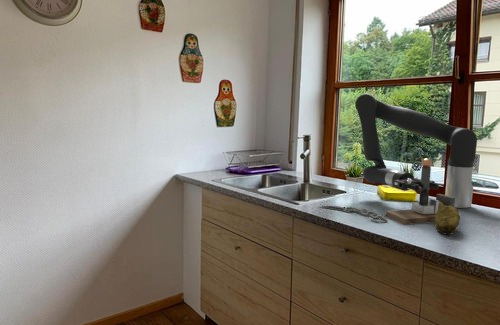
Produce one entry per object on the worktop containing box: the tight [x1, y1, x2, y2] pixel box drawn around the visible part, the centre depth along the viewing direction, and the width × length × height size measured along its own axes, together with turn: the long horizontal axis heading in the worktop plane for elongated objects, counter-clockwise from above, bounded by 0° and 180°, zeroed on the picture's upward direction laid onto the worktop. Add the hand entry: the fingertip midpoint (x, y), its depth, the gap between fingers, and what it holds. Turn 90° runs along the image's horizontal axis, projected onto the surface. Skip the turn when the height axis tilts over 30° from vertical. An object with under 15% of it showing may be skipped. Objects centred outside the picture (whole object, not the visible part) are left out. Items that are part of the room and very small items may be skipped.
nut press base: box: [384, 193, 455, 225], centre depth 135 cm, size 23×11×8 cm, turn 105°
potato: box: [434, 205, 461, 236], centre depth 121 cm, size 8×13×8 cm, turn 135°
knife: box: [320, 205, 388, 224], centre depth 141 cm, size 28×2×10 cm
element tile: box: [376, 184, 418, 202], centre depth 170 cm, size 15×15×5 cm
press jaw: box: [411, 158, 439, 214], centre depth 134 cm, size 6×7×20 cm
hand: (428, 187), depth 133 cm, fingers open, 8 cm apart
